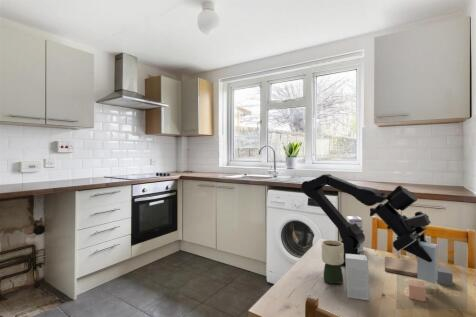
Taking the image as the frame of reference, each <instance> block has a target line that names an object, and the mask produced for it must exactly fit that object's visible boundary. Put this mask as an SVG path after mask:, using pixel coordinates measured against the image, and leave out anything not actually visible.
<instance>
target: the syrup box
mask: <svg viewBox="0 0 476 317" xmlns="http://www.w3.org/2000/svg"><path fill="white" fill-rule="evenodd" d="M346 220H347V222H349V223H350V224H354V223H356V224H357V225H358V227H359V228H360V229H361V230H363V231H364V229H363V219H362V218H361V217H360V216H358V215H357V216H356V215H350V216H349V215H347V216H346ZM358 252H364V243H363V244H361V245H360V247H359V248H358Z"/></svg>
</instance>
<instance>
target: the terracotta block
mask: <svg viewBox="0 0 476 317" xmlns="http://www.w3.org/2000/svg"><path fill="white" fill-rule="evenodd" d="M407 291H408V292H407V293H408V299H412V300H415V301H421V302H424V301H425V303H426V302H427V300H426V294H427V293H426V292H427V291H426V285H425V281H419V280H414V279H407Z"/></svg>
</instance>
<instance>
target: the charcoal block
mask: <svg viewBox="0 0 476 317" xmlns="http://www.w3.org/2000/svg"><path fill="white" fill-rule="evenodd" d="M453 279H454V278H453V272H452V271H451V268H447V267H439V266H438V279H437V281H436V284H440V285H445V286H451V287H453V284H454V283H453Z"/></svg>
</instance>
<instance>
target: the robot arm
mask: <svg viewBox="0 0 476 317" xmlns="http://www.w3.org/2000/svg"><path fill="white" fill-rule="evenodd" d="M300 186H301V187H300V190H301V192H302V193H303V194H304V195H305V196H306V197H307V198H310V199H311V200H313V201H314V202H315V203H316V204H317V205H318V206H319V208H321V210H322V211H323V212H324V214H325V215H326V216H327V218H328V219H329V220H330V221H331V222H332V223H333V225H334V226H335V227H336V228H337V230H338V233H339V236H340V239H341V240H340V242H342V243H343V245H344V263H343V264H341V265H340V266H341V267H345V268H346V259H345V254H356V255H361V253H360V252H359V251H358V248H359V247H360V245H361V244H363V245H364V242H365V240H366V236H365V233H363V232H364V229H363V230H361V229H360V228H359V227H358V225H357V224H356V223H354V224H350V223H349V222H347V218H345V216H343V214H342V213H341V212H340V211H339V210H338V209H337V207H336V206H335V205H334V204H333V203H332V201H330V199H329V198H328V197H327V196H326V194H325V192H324V189H323V187H325V186H329V187H331V188H334V189H336V190H338V191H341V192H343V193H345V194H347V195H350V196H352V197H354V199H356V200H357V201H358V202H360V203H361V204H363V205H365V206H366V207H370V208H369V212H370V213H369V216H370V217H373V216H375V215H377V216H378V217H379V218H380V220H382V221H383V222H384V224H385V225H386V229H387V230H391V231H392V232H393V233H394V234H395V235H396V239H395V240H394V241H393V242H392V247H393V248H394V249H395V250H396V251H397V252H399V251H401V250H402V251H406V252H408V253H410V254H411V255H413V256H416V257H417V256H418V257H420V258H422V259H424V260H426V261H427V262H432V259H431V258H430V256H429V255H428V254H427V252H426V251H425V250H424V249H423V247H422V246H421V245H420V241H422V242H427V243H428V241H427V240H426V234H427V232H426V230H427V229H428V228H427V226H429V225H430V224H431V220H430V218H429V215H427V213H424V212H422V211H421V210H420V211H416V212H415V213H414V216H411V217H407V215H402V214H401V213H400V212H399V210H400V211H405V210H406V209H407V208H409V207H410V206H412V205H413V204H414V203H415V202H417V201H418V198H417V197H416V195H415V194H414V193H413V192H412V191H410V190H408V189H407V188H404V187H403V186H402V185H401V184H400V185H398V186H396V187H395V188H394V190H392V191H391V192H390V193H385V192H381V191H380V190H379V189H377V188H373V187H368V186H361V185H357V184H354V183H351V182H349V181H347V180H345V179H342V178H339V177H336V176H333V175H332V174H330V173H324V174H322V175H320V176H318V177H316V178H314V179H310V180H304V181H302V183H301V185H300ZM383 202H385V203H383ZM382 203H383V204H382ZM377 204H378V205H377ZM375 205H377V206H375ZM372 206H375V207H372Z"/></svg>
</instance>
